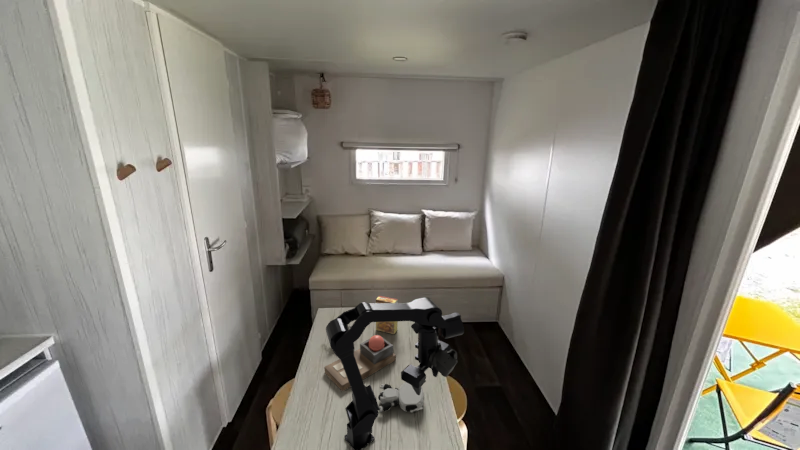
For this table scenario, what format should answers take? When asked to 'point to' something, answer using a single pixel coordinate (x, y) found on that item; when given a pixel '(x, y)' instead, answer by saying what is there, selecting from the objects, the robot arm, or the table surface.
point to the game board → (362, 363)
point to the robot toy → (400, 398)
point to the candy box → (386, 326)
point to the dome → (376, 343)
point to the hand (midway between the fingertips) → (426, 385)
